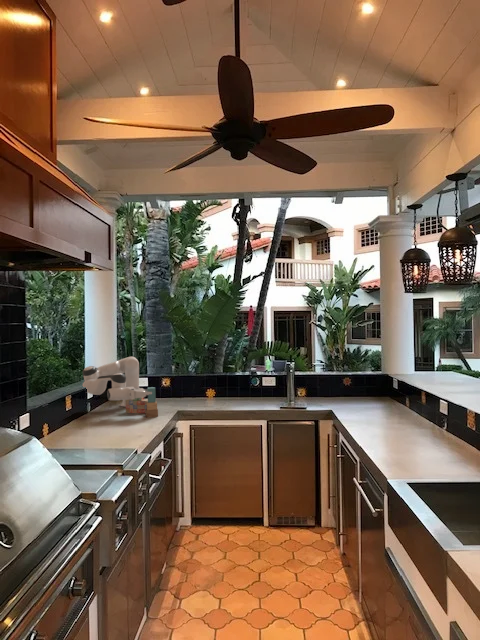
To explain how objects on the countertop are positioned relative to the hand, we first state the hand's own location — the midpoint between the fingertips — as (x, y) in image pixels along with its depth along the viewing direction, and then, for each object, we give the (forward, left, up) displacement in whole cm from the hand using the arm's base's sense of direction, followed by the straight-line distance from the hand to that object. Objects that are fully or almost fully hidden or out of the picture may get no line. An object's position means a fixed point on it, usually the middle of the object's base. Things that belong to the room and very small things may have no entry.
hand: (151, 391), depth 342 cm
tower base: (0, 0, -17) cm, 17 cm away
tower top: (0, 0, -12) cm, 12 cm away
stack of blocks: (-18, -6, -17) cm, 26 cm away
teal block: (0, 0, -7) cm, 7 cm away
